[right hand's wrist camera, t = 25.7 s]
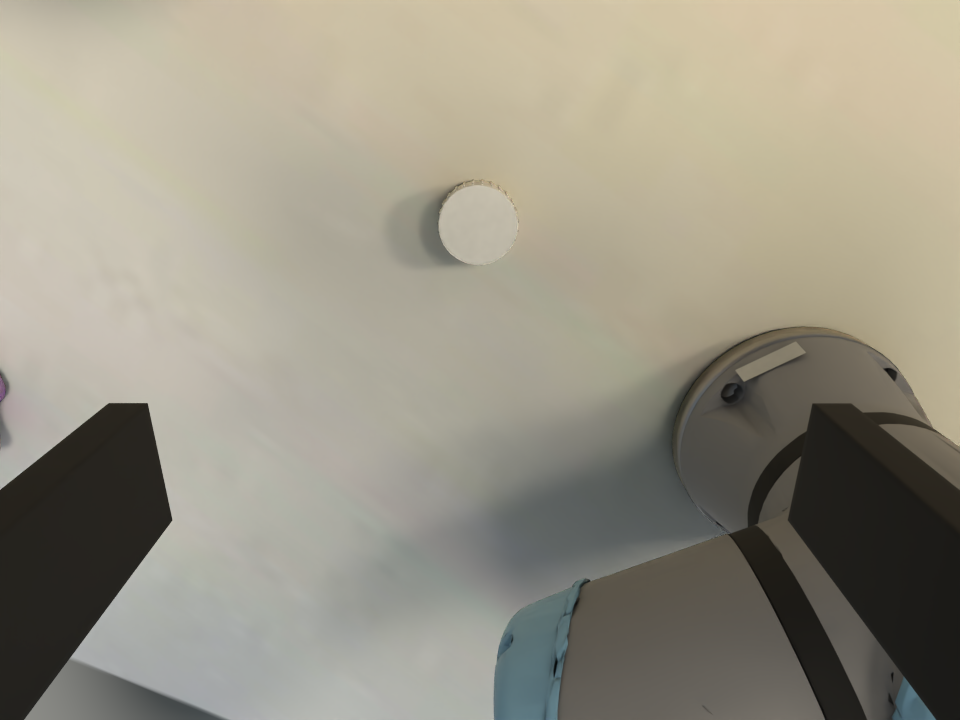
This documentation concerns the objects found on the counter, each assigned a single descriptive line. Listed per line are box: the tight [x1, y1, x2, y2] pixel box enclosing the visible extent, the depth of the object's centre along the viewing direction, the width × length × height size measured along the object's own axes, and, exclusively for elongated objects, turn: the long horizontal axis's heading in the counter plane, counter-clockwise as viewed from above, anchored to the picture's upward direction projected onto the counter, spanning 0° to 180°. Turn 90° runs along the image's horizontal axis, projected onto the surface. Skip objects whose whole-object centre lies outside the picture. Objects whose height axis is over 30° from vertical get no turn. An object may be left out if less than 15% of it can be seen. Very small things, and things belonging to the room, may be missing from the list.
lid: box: [437, 180, 519, 265], centre depth 37 cm, size 5×5×2 cm
